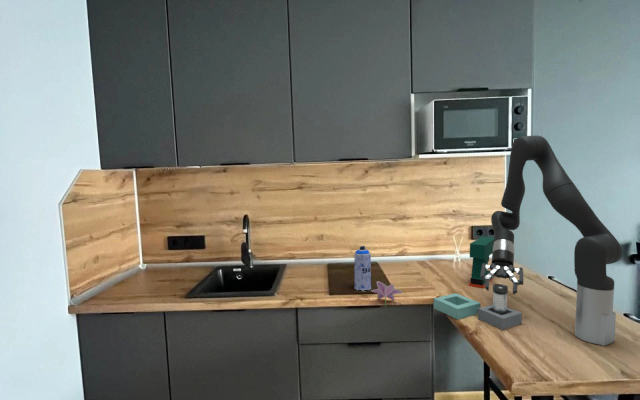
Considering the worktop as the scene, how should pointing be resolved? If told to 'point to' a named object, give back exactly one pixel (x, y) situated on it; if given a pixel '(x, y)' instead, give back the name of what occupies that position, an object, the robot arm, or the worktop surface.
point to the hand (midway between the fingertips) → (500, 291)
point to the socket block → (500, 317)
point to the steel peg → (500, 299)
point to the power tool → (480, 259)
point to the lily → (386, 291)
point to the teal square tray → (456, 306)
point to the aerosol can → (362, 269)
